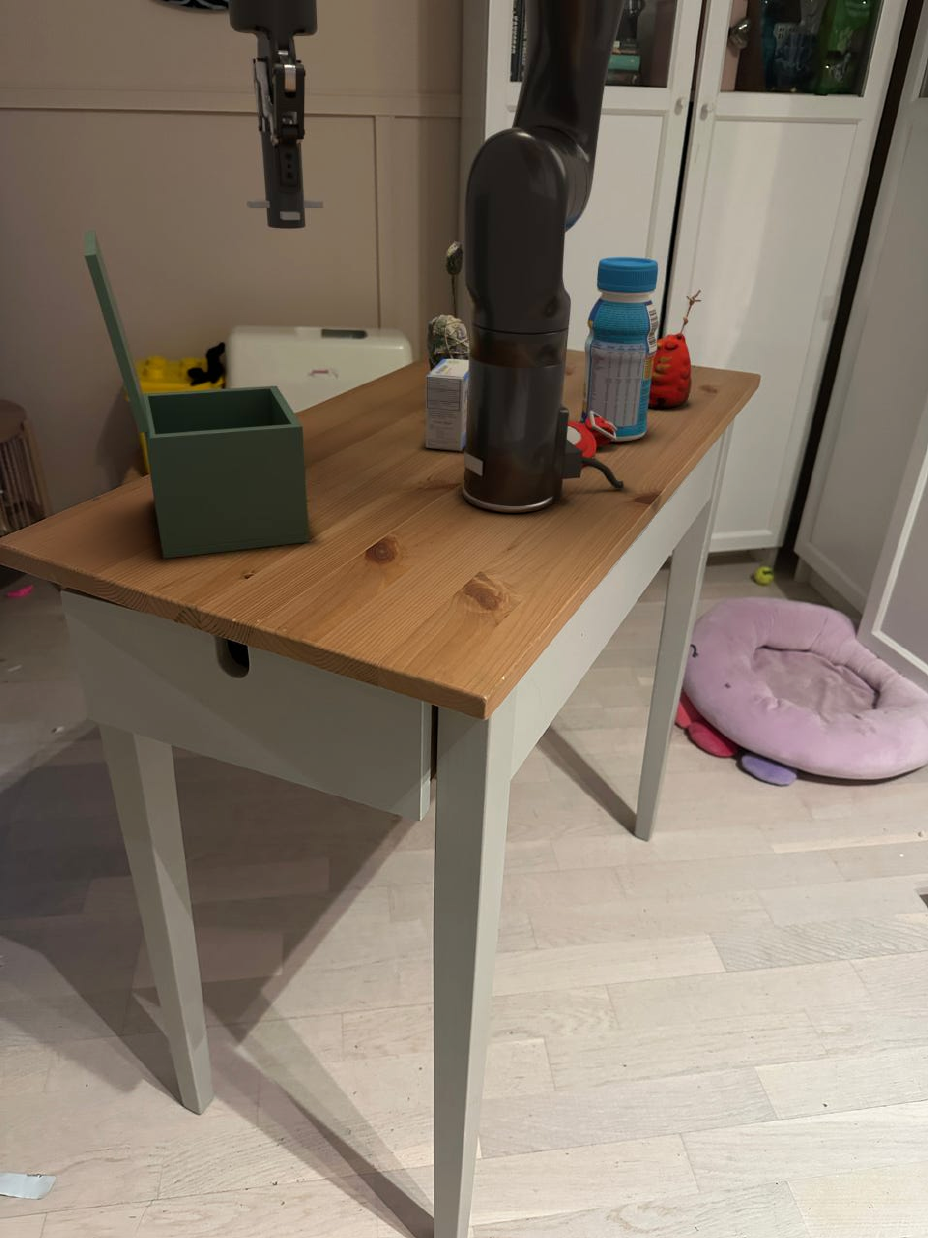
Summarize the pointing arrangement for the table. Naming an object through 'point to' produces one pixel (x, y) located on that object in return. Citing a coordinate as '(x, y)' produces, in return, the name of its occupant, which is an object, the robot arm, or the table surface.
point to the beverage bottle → (621, 345)
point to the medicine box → (447, 405)
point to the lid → (115, 329)
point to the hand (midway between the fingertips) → (284, 189)
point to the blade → (281, 194)
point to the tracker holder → (591, 434)
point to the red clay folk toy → (671, 369)
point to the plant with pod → (449, 321)
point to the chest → (226, 470)
